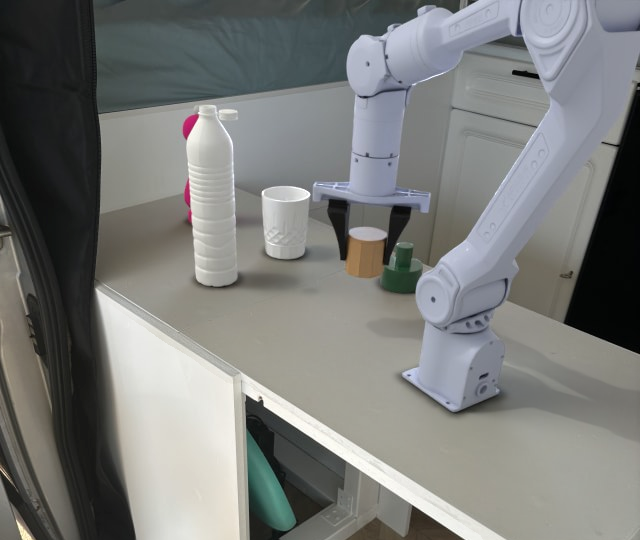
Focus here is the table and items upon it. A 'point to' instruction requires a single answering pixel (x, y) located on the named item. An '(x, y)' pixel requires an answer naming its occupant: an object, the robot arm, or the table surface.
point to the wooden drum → (365, 252)
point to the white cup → (285, 221)
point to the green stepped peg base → (402, 270)
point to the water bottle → (212, 197)
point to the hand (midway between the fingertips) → (365, 260)
